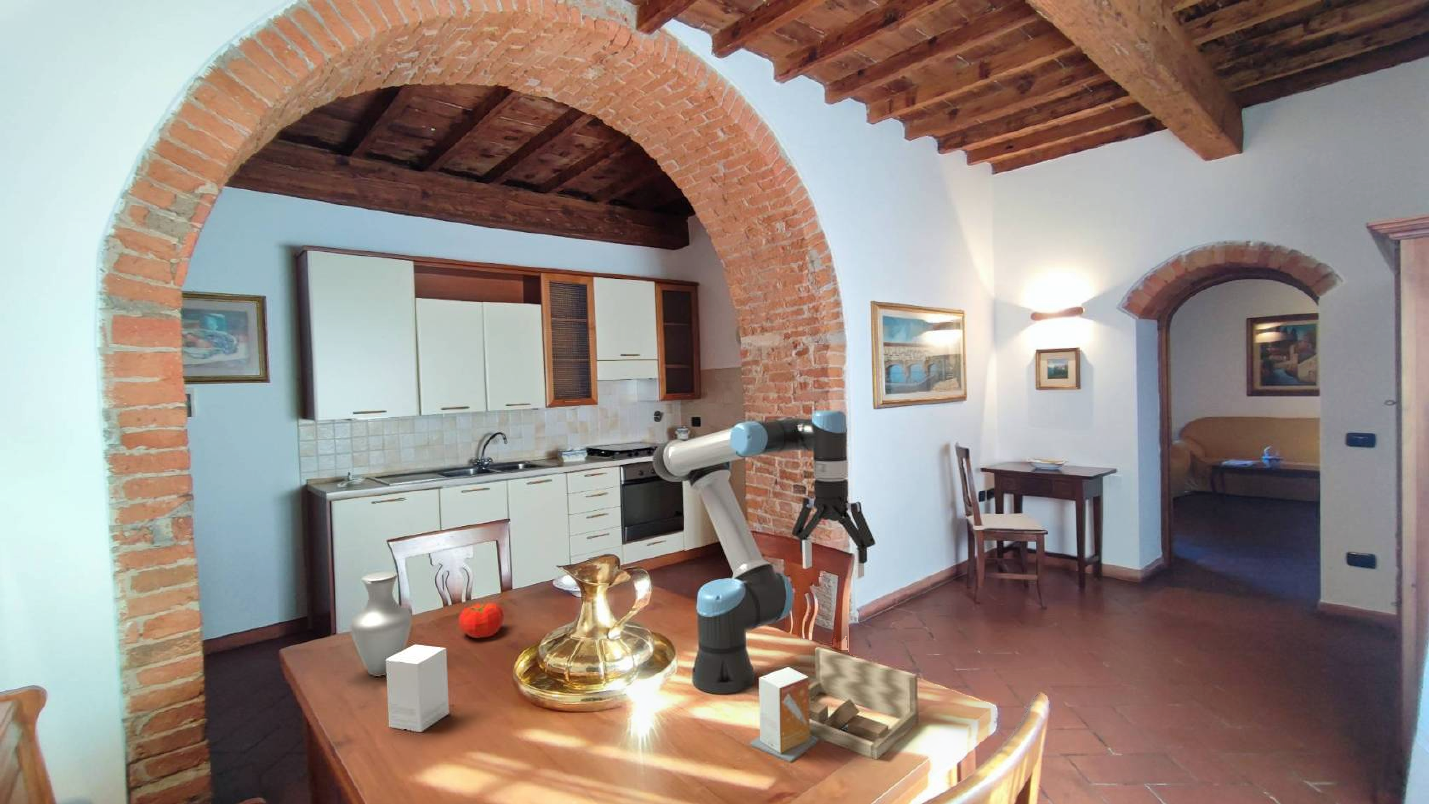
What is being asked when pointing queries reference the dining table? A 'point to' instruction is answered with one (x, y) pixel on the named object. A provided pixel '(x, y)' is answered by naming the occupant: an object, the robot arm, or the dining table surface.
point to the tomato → (481, 620)
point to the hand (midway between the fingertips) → (832, 572)
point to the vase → (380, 624)
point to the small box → (784, 709)
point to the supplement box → (417, 687)
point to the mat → (786, 755)
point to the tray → (864, 698)
